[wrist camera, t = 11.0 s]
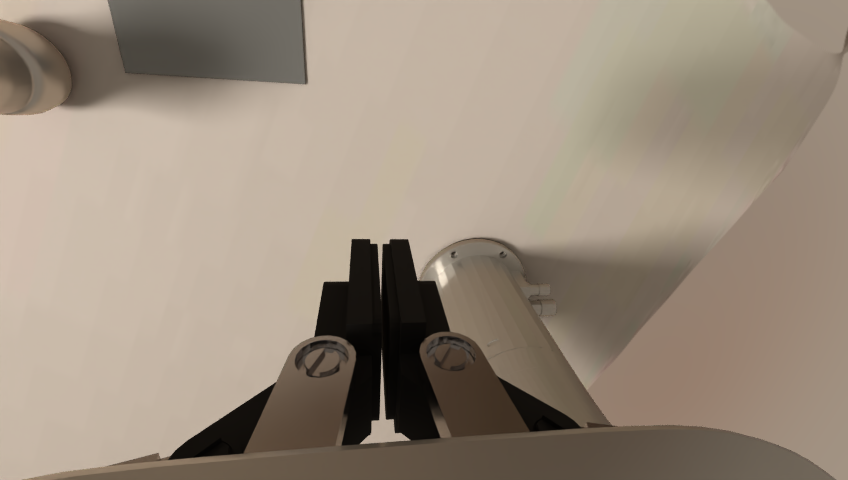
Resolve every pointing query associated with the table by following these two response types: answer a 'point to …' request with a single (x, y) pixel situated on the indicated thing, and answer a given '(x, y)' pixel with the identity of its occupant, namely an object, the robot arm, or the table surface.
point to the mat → (212, 38)
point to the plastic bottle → (30, 72)
